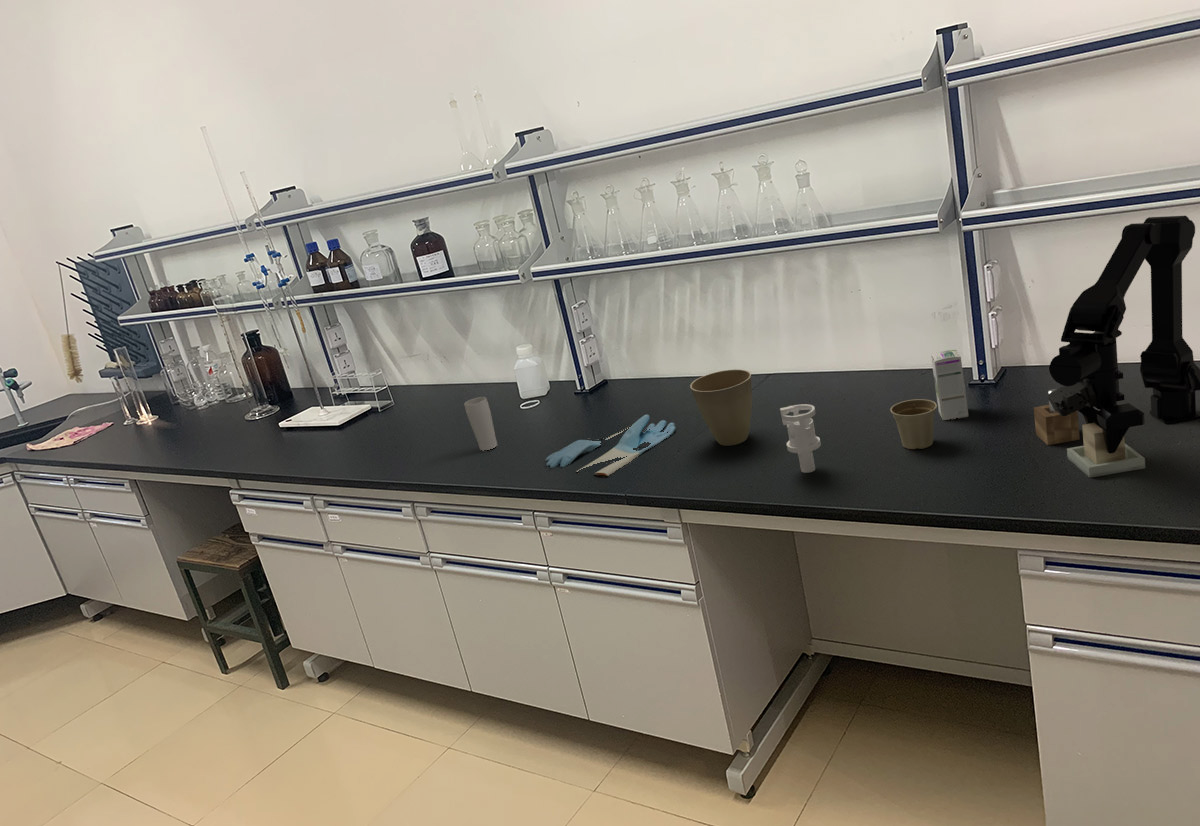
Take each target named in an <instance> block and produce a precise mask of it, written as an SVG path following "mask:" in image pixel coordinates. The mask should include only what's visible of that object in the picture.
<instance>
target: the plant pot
mask: <svg viewBox="0 0 1200 826" xmlns="http://www.w3.org/2000/svg"><path fill="white" fill-rule="evenodd" d="M752 385H753V384H752V373H751V371H749V370H746V369H736V368H735V369H723V370H719V371H714V372H711V373H708V374H705V375H702V376H701V377H698V378H696V379H695V380H693V381H692V382H691V383H690V385H689V388H690V390H691V393H692V396H693V398H694V401H695V403H696V405H697V408H698V410H699V412H700V414H701V417H702V418H703V421H704V422H705V424H706V426H707V427H708V429H709V430H710V433H711V434H712V435H713V437H714V439H715V440H716V442H717V443H718V444H719V445H720V446H724V447H726V446H730V447H731V446H736V445H739V444H741V443H743V442H745V441H746V440H747V439H748V437H749V433H750V426H751V419H752V418H751V417H752V409H753V408H752V404H753V402H752V401H753V387H752Z"/></svg>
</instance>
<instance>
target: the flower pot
mask: <svg viewBox="0 0 1200 826" xmlns="http://www.w3.org/2000/svg"><path fill="white" fill-rule="evenodd" d="M937 409H938V403H936V402H935V401H934V400H931V399H922V398H921V399H920V398H919V399H916V398H915V399H908V400H904V401H900V402H898V403H895V404H894V405H892V406H891V407H890V408H889V410H890V413H891V414H892V415H893V419H895V422H896V425H897V430H898V432H899V433H898V434H899V436H900V440H901V445H902V447H904V448H905V449H909V450H915V449H920V450H921V449H926V448H929V447H930V446H932V445H933V443H934V424H935V423H934V422H935V414H936V410H937Z"/></svg>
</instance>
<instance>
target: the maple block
mask: <svg viewBox="0 0 1200 826" xmlns="http://www.w3.org/2000/svg"><path fill="white" fill-rule="evenodd" d="M1081 425H1082V427H1081V428H1082V440H1083V446H1084V454H1085V455H1086V456H1087V457H1088V458H1089V459H1091V460H1092V461H1093V462H1094V463H1096V464H1101V463H1107V462H1113V461H1119V460H1125V459H1126V454H1125V444H1126V441H1125V440H1126V439H1125V436H1124V437H1123V439H1122V441H1121V442H1120V444H1119V446H1118V448H1117V450H1116V452H1115V453H1108V451H1107V448H1106V444H1105V439H1104V435H1103V431H1102V428H1100V427H1099V426H1097V425H1096V424H1095V423H1090V424H1087V423H1085V424H1081Z"/></svg>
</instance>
